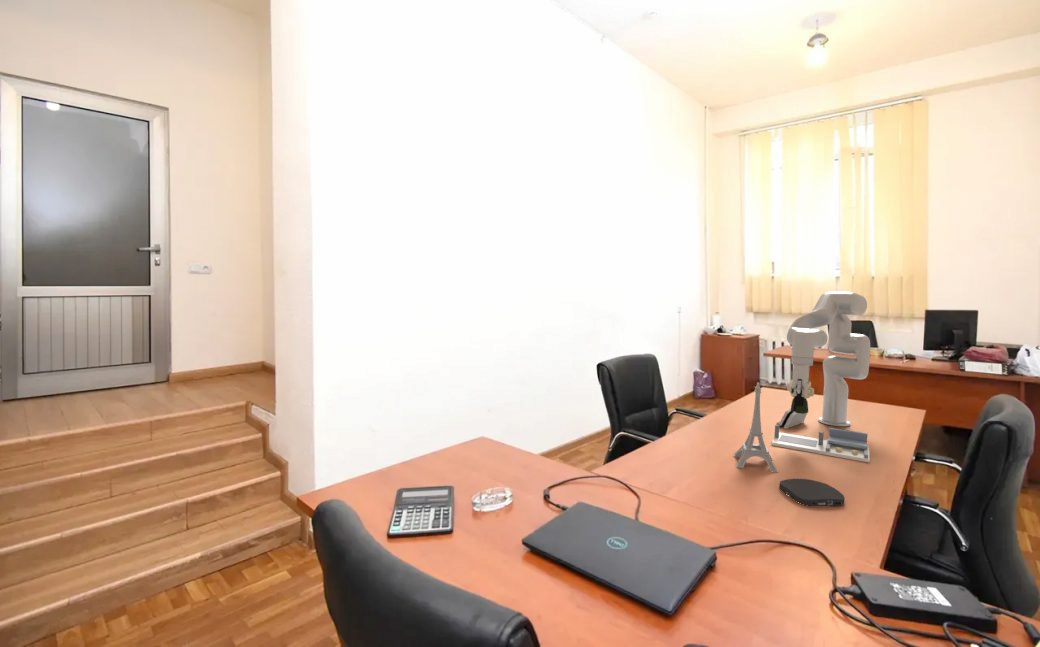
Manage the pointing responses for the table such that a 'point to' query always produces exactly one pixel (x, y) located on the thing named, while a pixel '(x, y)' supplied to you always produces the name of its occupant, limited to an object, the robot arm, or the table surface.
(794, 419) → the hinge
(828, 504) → the media streaming box
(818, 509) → the table surface
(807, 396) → the character mug
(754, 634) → the table surface
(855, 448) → the board
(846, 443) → the cover
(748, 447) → the eiffel tower
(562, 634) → the table surface
